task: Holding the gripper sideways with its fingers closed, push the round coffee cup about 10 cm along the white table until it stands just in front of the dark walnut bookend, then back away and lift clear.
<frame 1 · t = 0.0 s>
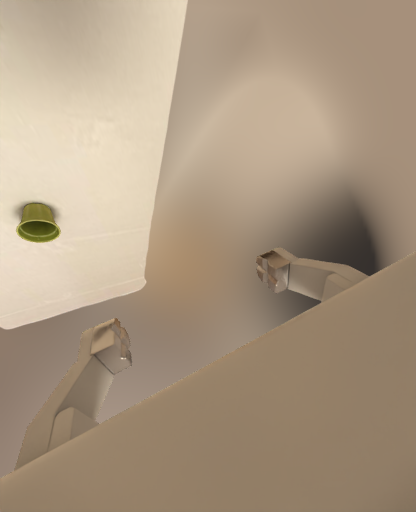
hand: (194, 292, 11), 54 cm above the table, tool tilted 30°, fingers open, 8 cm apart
plant pot: (38, 210, 58), on the table
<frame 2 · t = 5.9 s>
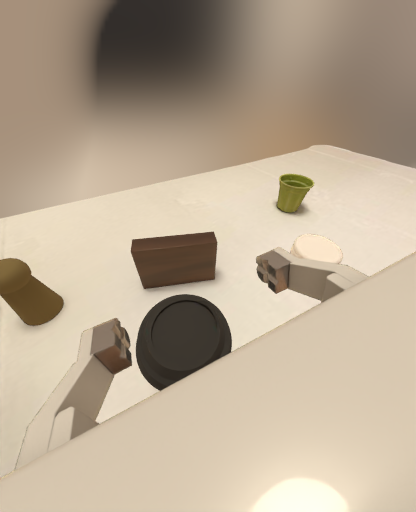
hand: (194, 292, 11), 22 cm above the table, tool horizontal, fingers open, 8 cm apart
plant pot: (286, 208, 60), on the table
walnut bookend: (179, 278, 40), on the table
coaster: (311, 259, 45), on the table
cork: (44, 309, 34), on the table
coffee cup: (190, 374, 28), on the table
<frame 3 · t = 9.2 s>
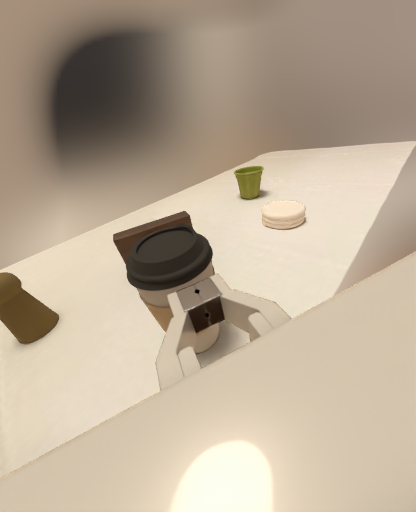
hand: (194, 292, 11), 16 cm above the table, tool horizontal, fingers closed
plant pot: (250, 196, 67), on the table
walnut bookend: (167, 266, 41), on the table
coaster: (282, 221, 49), on the table
cork: (40, 327, 33), on the table
coffee cup: (195, 330, 27), on the table
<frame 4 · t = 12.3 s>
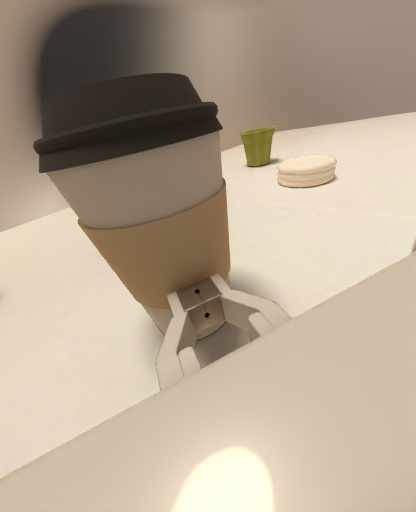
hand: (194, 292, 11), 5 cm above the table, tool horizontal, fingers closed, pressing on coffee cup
plant pot: (258, 164, 57), on the table
coaster: (303, 180, 39), on the table
coffee cup: (193, 306, 17), on the table, touching gripper
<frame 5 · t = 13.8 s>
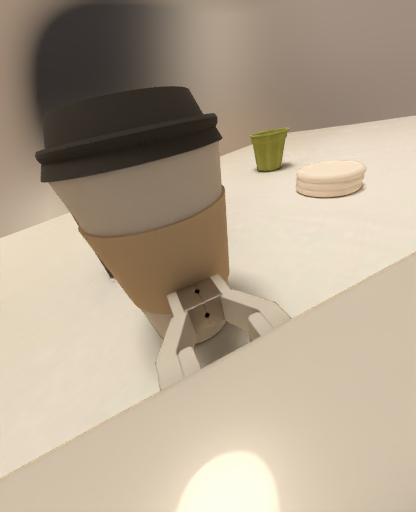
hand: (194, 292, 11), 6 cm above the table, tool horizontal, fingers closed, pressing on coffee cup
plant pot: (268, 169, 53), on the table
coaster: (326, 189, 34), on the table
coffee cup: (192, 310, 17), on the table, touching gripper
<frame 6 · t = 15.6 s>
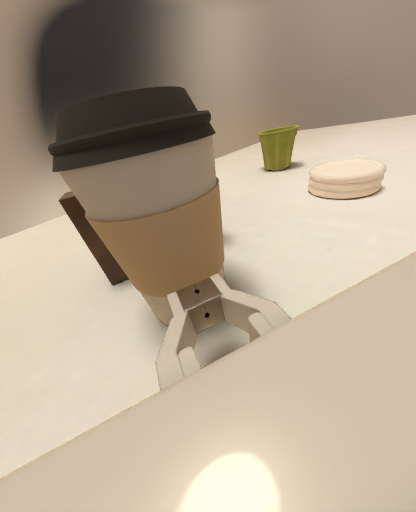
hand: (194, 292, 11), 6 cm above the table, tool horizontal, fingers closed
plant pot: (277, 168, 51), on the table
walnut bookend: (167, 256, 25), on the table
coaster: (340, 190, 32), on the table
coffee cup: (190, 298, 18), on the table
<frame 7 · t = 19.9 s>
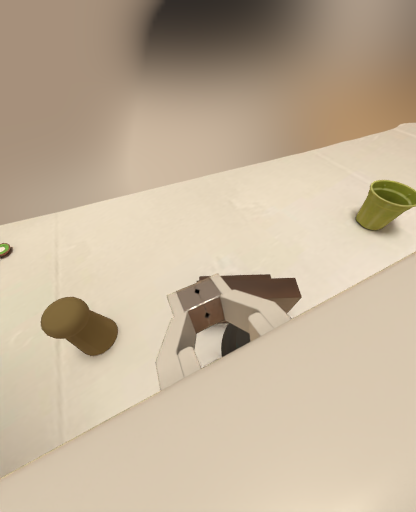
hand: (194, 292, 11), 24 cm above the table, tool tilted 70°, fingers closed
plant pot: (368, 222, 48), on the table
walnut bookend: (238, 314, 35), on the table
cork: (99, 336, 33), on the table
coffee cup: (247, 367, 30), on the table
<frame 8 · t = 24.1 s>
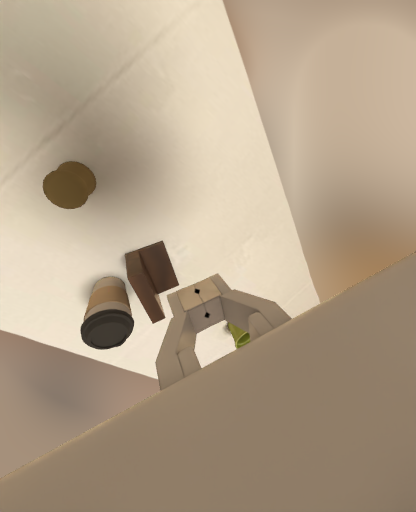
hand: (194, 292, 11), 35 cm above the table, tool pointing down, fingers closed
plant pot: (234, 321, 74), on the table
walnut bookend: (142, 274, 49), on the table
cork: (76, 179, 35), on the table
coffee cup: (109, 288, 47), on the table
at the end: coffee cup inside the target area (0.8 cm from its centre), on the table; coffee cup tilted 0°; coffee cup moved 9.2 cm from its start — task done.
